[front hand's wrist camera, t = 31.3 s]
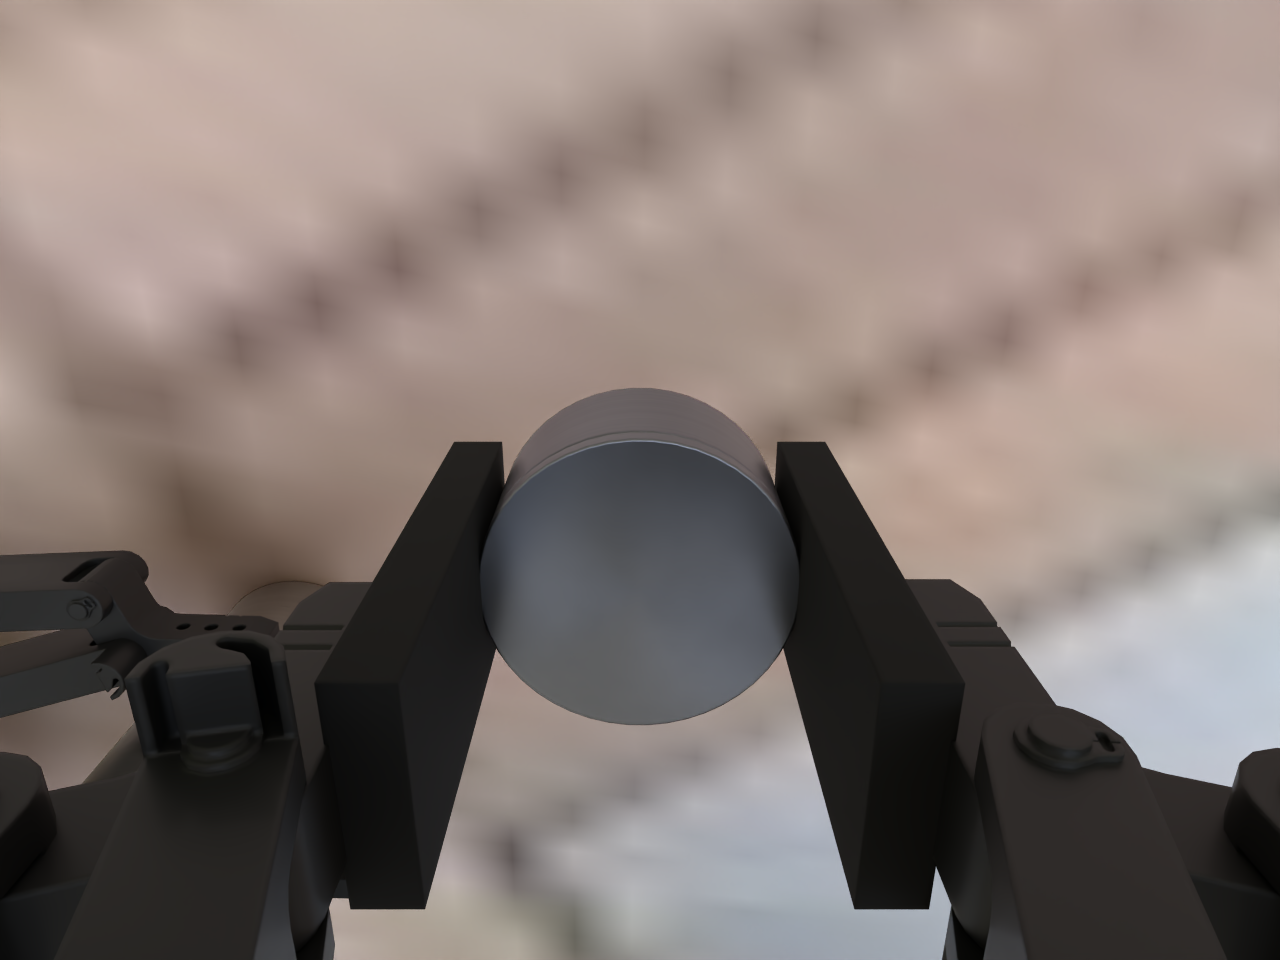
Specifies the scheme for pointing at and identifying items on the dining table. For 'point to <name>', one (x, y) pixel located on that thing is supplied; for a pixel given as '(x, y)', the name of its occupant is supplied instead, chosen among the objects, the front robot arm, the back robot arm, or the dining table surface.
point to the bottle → (261, 602)
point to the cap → (639, 560)
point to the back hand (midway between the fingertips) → (396, 770)
